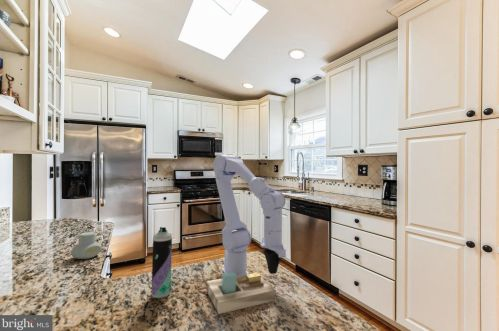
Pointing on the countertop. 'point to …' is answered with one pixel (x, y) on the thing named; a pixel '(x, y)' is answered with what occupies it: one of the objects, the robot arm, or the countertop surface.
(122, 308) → the countertop surface
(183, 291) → the countertop surface
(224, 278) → the teal peg
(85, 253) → the air freshener
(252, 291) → the dock plate
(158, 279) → the spray can
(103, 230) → the countertop surface
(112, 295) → the countertop surface
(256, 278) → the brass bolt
